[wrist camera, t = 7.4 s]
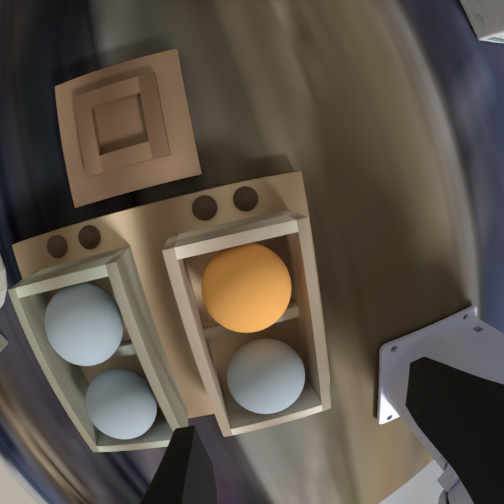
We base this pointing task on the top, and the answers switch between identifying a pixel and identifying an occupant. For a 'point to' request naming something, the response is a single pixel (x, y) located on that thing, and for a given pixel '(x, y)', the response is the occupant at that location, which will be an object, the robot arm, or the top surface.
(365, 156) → the top surface
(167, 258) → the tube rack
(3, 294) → the paper towel roll
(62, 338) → the slate ball
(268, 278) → the ball orange
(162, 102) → the stand
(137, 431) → the slate ball
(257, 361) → the slate ball
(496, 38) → the syrup box
